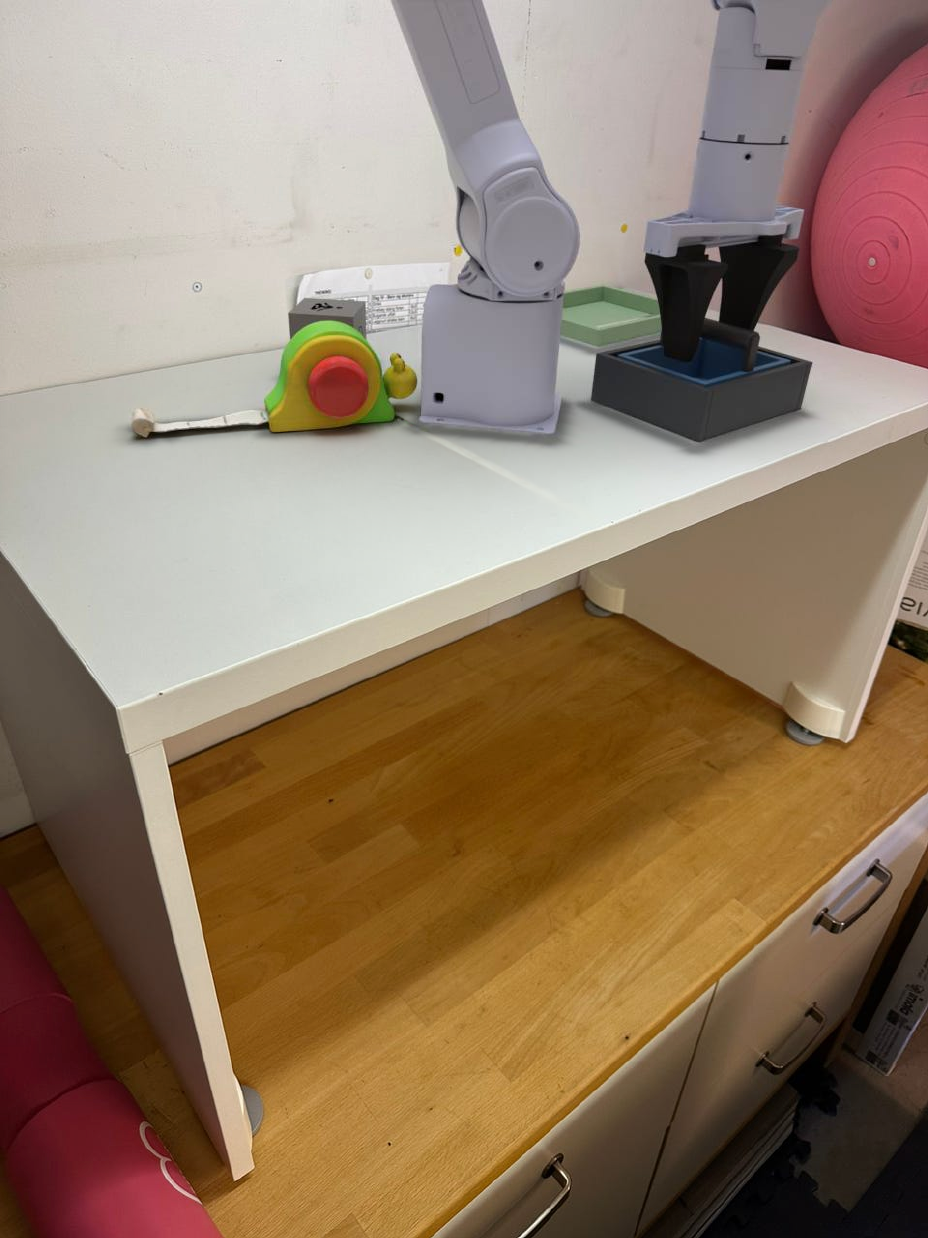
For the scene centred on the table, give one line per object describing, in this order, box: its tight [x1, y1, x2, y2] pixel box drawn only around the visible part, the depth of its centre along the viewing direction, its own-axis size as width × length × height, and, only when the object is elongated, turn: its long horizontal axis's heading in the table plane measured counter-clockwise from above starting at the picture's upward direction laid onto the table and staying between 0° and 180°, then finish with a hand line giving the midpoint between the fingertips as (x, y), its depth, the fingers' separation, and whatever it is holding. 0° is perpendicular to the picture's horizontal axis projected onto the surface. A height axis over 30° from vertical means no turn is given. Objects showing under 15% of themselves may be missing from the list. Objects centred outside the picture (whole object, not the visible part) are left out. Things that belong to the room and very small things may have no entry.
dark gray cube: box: [287, 297, 367, 341], centre depth 71 cm, size 5×5×5 cm
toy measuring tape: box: [131, 321, 418, 438], centre depth 60 cm, size 6×20×7 cm, turn 107°
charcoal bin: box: [590, 338, 814, 443], centre depth 66 cm, size 12×10×4 cm
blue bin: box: [617, 317, 791, 388], centre depth 65 cm, size 10×8×6 cm
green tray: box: [560, 284, 662, 347], centre depth 87 cm, size 14×12×2 cm
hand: (705, 351), depth 65 cm, fingers open, 6 cm apart
